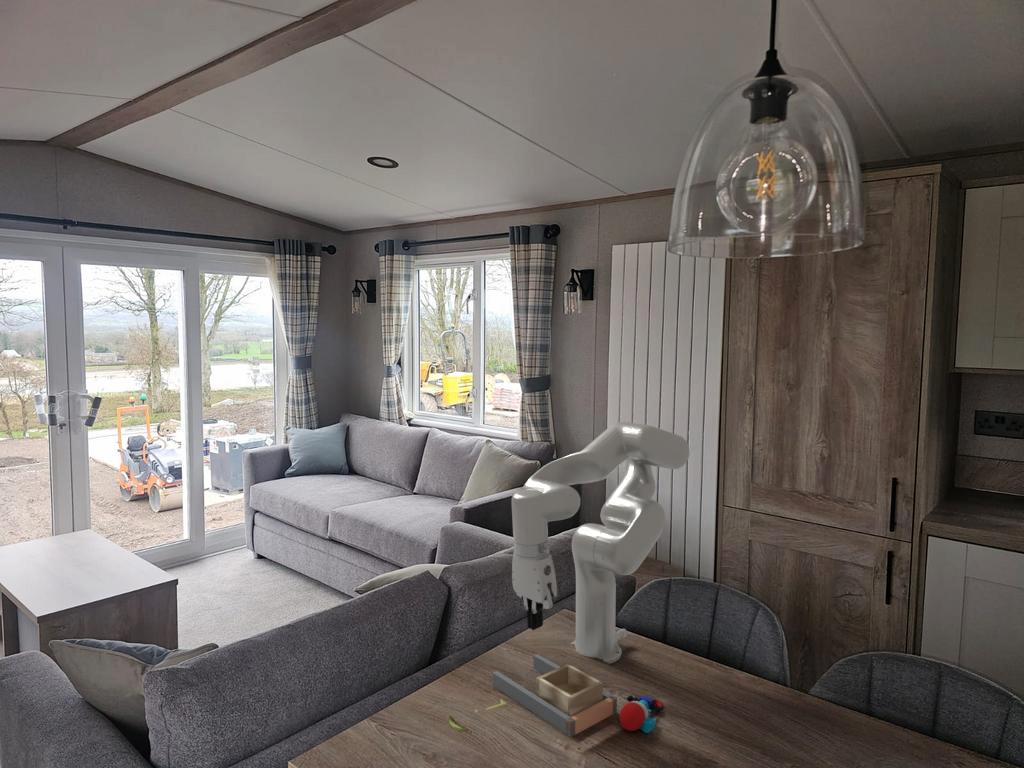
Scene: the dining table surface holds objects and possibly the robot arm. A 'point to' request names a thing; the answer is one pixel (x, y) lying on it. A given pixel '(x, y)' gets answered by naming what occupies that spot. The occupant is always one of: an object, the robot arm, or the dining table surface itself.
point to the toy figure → (639, 713)
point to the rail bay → (548, 711)
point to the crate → (569, 689)
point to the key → (462, 728)
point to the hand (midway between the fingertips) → (535, 626)
